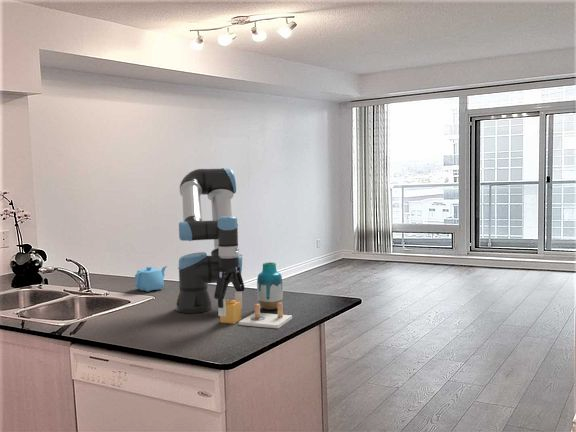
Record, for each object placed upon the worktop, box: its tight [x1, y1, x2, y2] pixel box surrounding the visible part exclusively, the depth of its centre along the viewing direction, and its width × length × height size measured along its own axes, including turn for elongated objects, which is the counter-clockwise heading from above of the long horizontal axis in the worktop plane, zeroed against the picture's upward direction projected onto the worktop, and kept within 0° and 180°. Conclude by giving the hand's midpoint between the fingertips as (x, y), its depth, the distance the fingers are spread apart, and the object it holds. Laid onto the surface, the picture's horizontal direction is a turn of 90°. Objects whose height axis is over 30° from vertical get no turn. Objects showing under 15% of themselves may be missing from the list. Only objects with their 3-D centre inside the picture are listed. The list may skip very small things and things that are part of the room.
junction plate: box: [238, 301, 293, 329], centre depth 213 cm, size 16×14×7 cm
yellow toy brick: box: [219, 298, 242, 324], centre depth 216 cm, size 6×6×8 cm
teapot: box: [134, 265, 168, 293], centre depth 276 cm, size 12×18×12 cm
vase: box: [256, 261, 284, 310], centre depth 232 cm, size 11×11×19 cm
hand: (230, 311), depth 215 cm, fingers open, 13 cm apart
